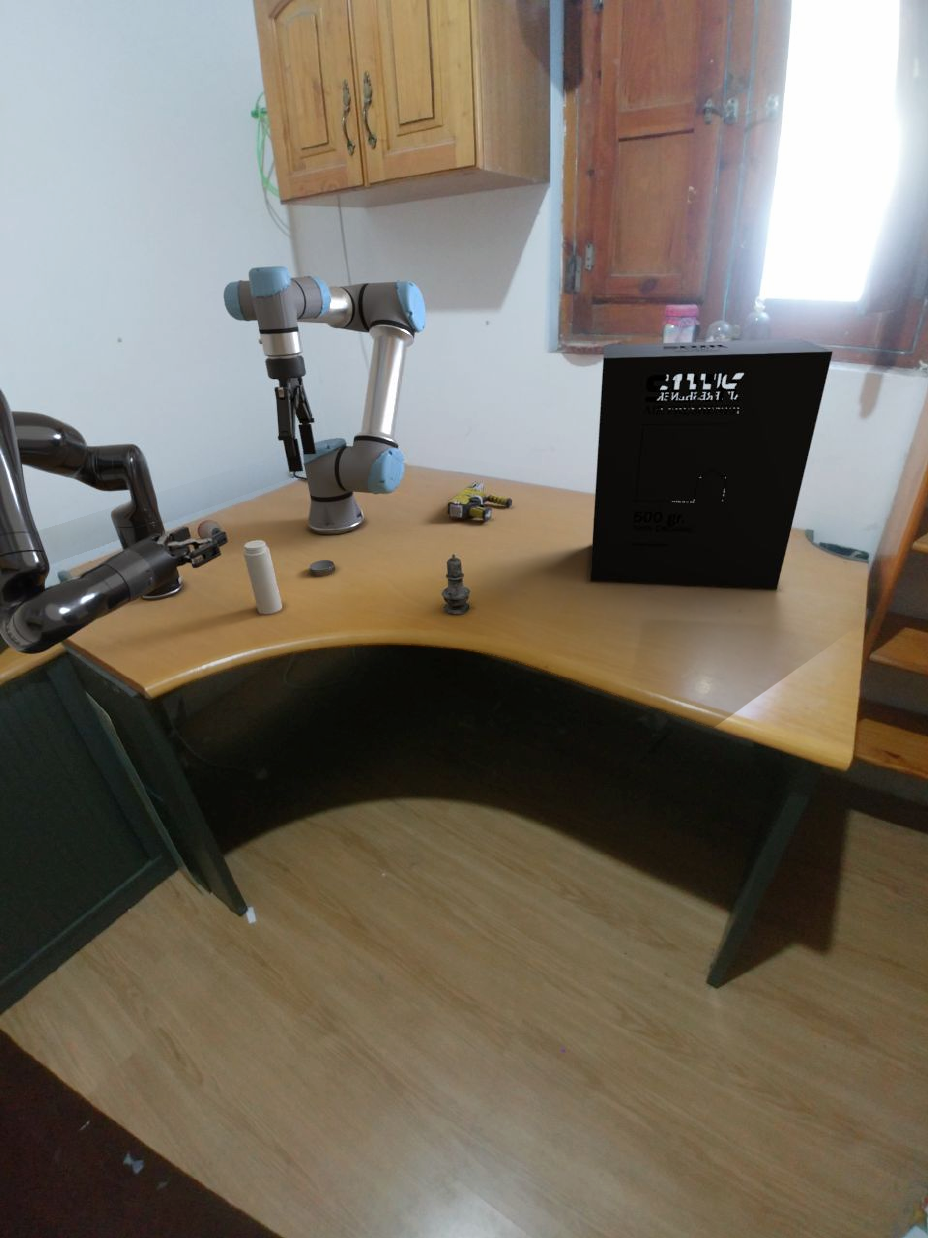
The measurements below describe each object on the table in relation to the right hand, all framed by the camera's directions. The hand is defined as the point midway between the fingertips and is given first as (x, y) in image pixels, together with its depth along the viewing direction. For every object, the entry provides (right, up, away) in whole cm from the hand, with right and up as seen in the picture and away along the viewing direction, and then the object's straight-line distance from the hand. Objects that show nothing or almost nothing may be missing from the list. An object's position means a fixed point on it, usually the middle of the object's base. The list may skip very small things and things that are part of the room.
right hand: (303, 462), depth 131 cm
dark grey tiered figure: (+33, -32, -6) cm, 47 cm away
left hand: (-12, -19, -22) cm, 31 cm away
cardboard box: (+83, -22, +6) cm, 86 cm away
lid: (+1, -21, +12) cm, 25 cm away
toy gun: (+41, -2, +44) cm, 60 cm away
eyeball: (-33, -13, +32) cm, 48 cm away
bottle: (-6, -32, -2) cm, 33 cm away
